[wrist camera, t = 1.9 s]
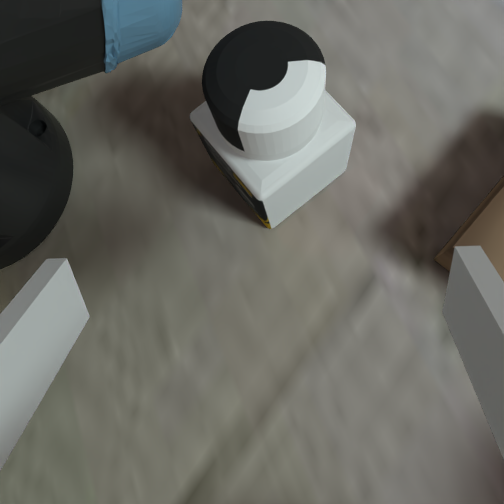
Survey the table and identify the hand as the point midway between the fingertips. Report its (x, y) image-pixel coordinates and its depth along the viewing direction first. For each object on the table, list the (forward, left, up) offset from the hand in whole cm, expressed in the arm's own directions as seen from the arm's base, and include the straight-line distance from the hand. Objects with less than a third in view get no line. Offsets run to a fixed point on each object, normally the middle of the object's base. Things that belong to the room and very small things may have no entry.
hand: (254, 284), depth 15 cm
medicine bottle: (-4, +10, -15) cm, 19 cm away
